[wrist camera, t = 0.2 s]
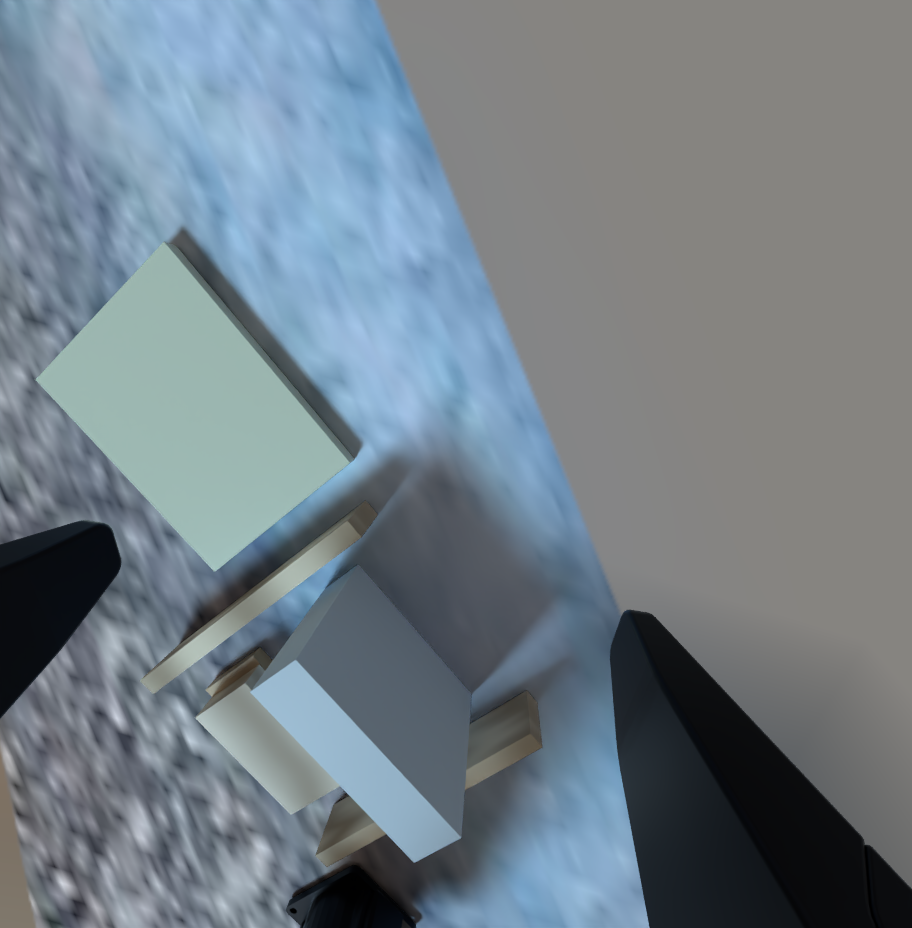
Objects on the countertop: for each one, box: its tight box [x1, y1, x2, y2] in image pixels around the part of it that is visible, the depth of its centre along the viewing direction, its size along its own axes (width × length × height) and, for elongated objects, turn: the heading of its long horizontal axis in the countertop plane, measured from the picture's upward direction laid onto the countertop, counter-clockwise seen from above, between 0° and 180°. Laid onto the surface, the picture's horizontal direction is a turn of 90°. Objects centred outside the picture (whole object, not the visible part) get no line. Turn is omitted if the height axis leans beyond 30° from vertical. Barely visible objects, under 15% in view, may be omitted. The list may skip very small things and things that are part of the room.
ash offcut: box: [195, 665, 340, 815], centre depth 26 cm, size 4×8×2 cm, turn 38°
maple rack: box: [140, 500, 542, 867], centre depth 25 cm, size 15×15×3 cm
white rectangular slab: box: [250, 564, 472, 863], centre depth 22 cm, size 2×10×8 cm, turn 39°
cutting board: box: [36, 242, 354, 572], centre depth 23 cm, size 10×13×1 cm
